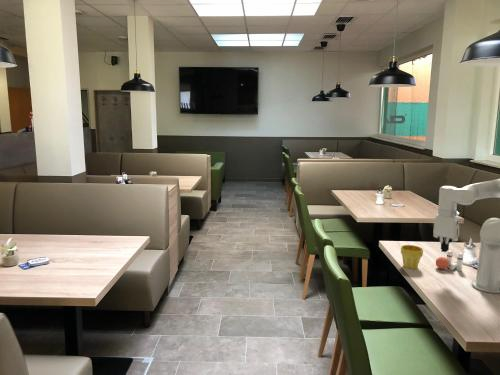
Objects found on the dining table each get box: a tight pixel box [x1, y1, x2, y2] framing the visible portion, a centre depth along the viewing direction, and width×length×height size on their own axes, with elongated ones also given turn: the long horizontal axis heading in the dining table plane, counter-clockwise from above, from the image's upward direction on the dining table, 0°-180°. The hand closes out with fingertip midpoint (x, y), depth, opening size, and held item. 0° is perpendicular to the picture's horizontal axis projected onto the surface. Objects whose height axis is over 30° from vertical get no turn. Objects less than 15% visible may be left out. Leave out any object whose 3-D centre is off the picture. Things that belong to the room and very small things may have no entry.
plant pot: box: [400, 244, 424, 270], centre depth 204 cm, size 10×10×10 cm
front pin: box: [448, 260, 457, 271], centre depth 204 cm, size 2×2×8 cm
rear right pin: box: [455, 252, 464, 272], centre depth 200 cm, size 2×2×8 cm
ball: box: [435, 256, 449, 270], centre depth 202 cm, size 6×6×6 cm
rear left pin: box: [446, 250, 453, 269], centre depth 204 cm, size 2×2×8 cm
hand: (444, 251), depth 189 cm, fingers closed
